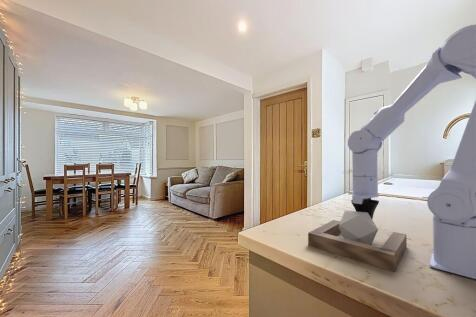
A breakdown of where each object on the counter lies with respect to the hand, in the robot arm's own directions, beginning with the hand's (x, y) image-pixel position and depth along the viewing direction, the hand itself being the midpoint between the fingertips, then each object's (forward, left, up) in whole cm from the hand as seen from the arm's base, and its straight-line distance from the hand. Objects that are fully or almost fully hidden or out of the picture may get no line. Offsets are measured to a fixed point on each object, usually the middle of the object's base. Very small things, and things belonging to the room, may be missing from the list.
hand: (365, 226), depth 55 cm
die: (0, +6, -3) cm, 7 cm away
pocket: (0, +7, -3) cm, 7 cm away
